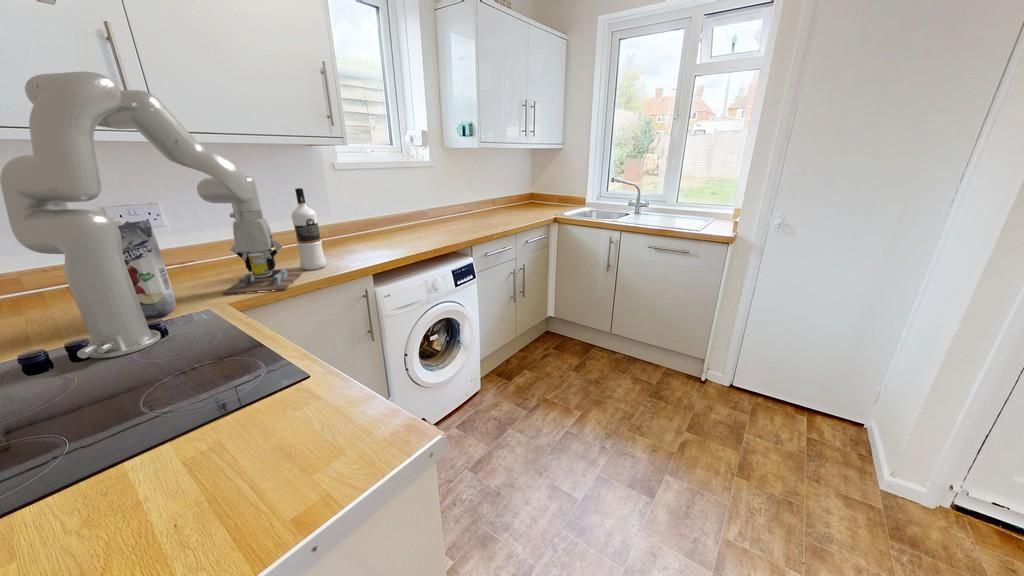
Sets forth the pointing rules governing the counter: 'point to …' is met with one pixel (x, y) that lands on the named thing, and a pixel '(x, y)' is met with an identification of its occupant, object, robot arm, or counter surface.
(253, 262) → the supplement bottle
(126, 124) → the robot arm
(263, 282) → the u rest
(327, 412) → the counter surface
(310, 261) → the vodka
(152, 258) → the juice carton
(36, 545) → the counter surface
